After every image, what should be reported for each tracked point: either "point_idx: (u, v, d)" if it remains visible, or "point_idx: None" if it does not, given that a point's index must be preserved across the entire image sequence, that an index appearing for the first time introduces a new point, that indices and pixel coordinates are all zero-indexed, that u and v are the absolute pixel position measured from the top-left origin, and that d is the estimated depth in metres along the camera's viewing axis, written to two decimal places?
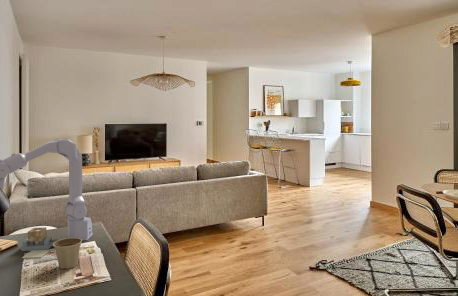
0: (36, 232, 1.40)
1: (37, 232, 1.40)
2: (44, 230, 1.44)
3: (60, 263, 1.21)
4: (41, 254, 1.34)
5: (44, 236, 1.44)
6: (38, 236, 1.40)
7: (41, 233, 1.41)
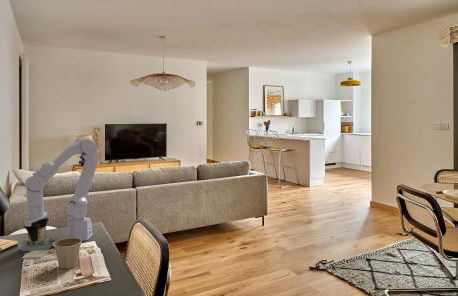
0: None
1: None
2: (44, 230, 1.44)
3: (60, 263, 1.21)
4: (41, 254, 1.34)
5: (44, 236, 1.44)
6: (38, 236, 1.40)
7: (41, 233, 1.41)
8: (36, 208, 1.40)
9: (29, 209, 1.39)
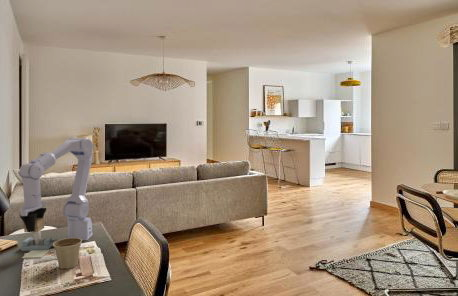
0: None
1: None
2: (41, 221, 1.35)
3: (60, 263, 1.21)
4: (41, 254, 1.34)
5: (41, 227, 1.35)
6: (35, 227, 1.32)
7: (38, 223, 1.33)
8: (33, 197, 1.31)
9: (25, 198, 1.31)
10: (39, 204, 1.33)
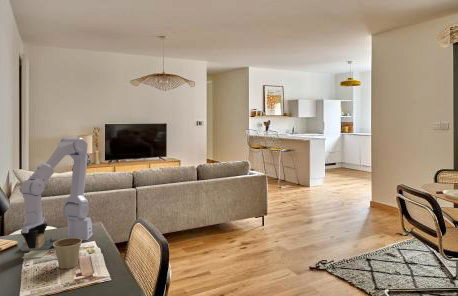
0: None
1: None
2: (42, 236, 1.36)
3: (60, 263, 1.21)
4: (41, 254, 1.34)
5: (42, 243, 1.36)
6: (36, 243, 1.33)
7: (39, 239, 1.33)
8: (34, 213, 1.32)
9: (26, 214, 1.32)
10: (40, 220, 1.34)
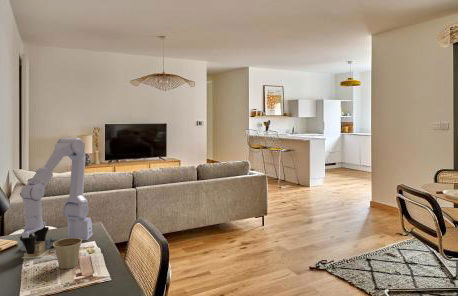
0: None
1: (35, 246, 1.33)
2: (43, 244, 1.36)
3: (60, 263, 1.21)
4: (41, 254, 1.34)
5: (43, 250, 1.36)
6: (36, 251, 1.33)
7: (40, 247, 1.34)
8: (34, 218, 1.32)
9: (27, 219, 1.32)
10: (40, 225, 1.34)
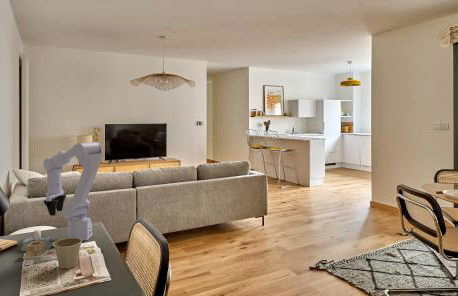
0: (34, 246, 1.33)
1: (35, 246, 1.33)
2: (43, 244, 1.36)
3: (60, 263, 1.21)
4: (41, 254, 1.34)
5: (43, 250, 1.36)
6: (36, 251, 1.33)
7: (40, 247, 1.34)
8: (55, 185, 1.57)
9: (49, 186, 1.57)
10: (60, 191, 1.59)
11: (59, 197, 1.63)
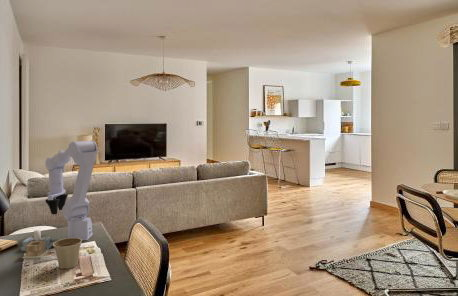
0: (34, 246, 1.33)
1: (35, 246, 1.33)
2: (43, 244, 1.36)
3: (60, 263, 1.21)
4: (41, 254, 1.34)
5: (43, 250, 1.36)
6: (36, 251, 1.33)
7: (40, 247, 1.34)
8: (57, 185, 1.59)
9: (51, 185, 1.59)
10: (62, 191, 1.61)
11: (61, 196, 1.66)
